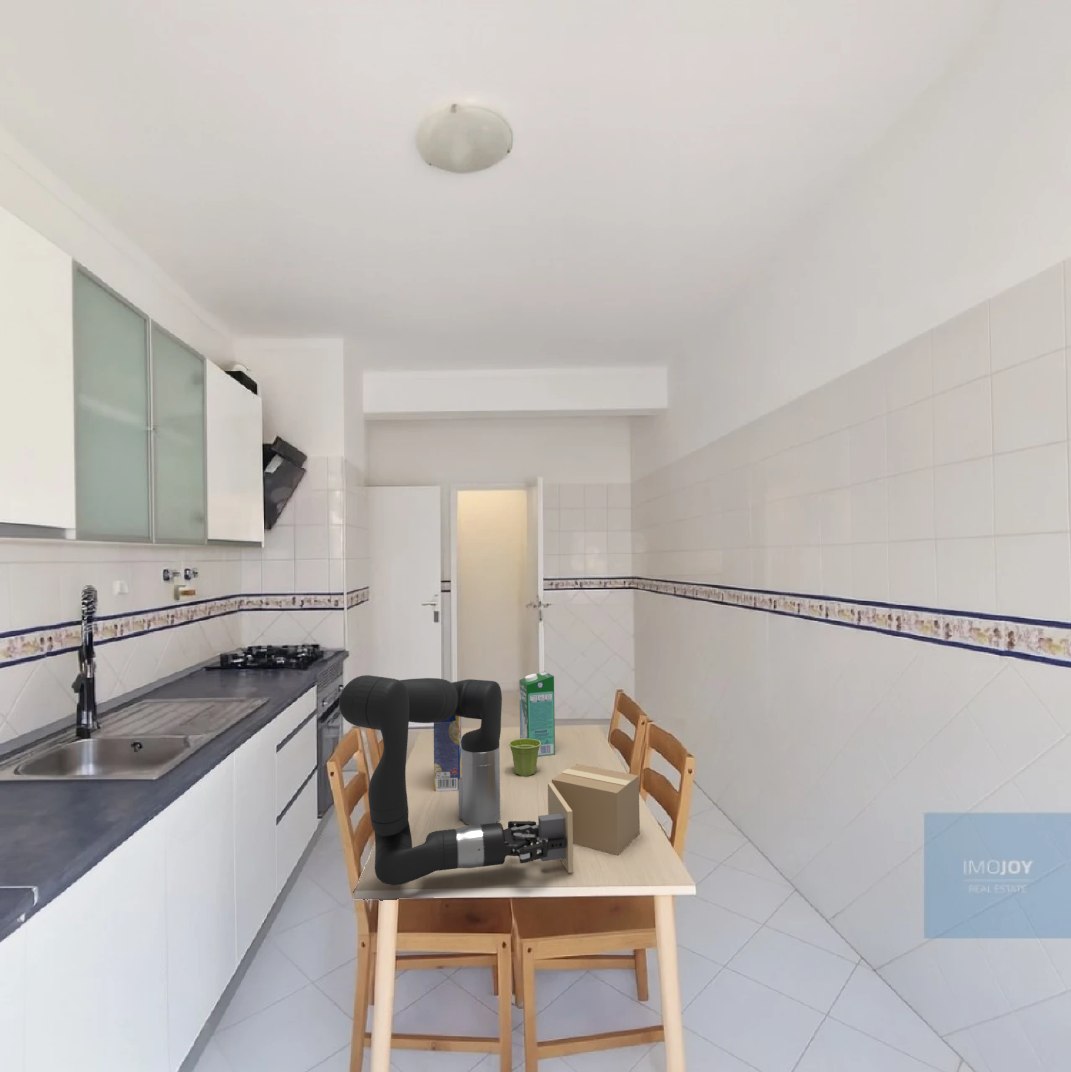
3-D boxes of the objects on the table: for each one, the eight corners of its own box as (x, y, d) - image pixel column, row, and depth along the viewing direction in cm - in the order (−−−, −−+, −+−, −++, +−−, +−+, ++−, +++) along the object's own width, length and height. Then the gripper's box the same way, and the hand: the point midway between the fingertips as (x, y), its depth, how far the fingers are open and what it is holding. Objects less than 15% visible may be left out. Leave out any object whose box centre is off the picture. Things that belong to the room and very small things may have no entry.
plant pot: (508, 767, 186) (508, 738, 186) (540, 766, 187) (539, 737, 187) (509, 779, 177) (509, 748, 177) (542, 777, 178) (542, 747, 178)
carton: (552, 837, 140) (551, 778, 140) (577, 818, 150) (576, 763, 151) (617, 855, 131) (617, 792, 132) (639, 833, 142) (638, 774, 142)
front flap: (526, 839, 138) (526, 785, 138) (552, 836, 139) (552, 782, 140) (543, 876, 122) (543, 814, 123) (573, 872, 124) (572, 811, 124)
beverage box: (461, 776, 180) (460, 699, 180) (459, 790, 169) (458, 708, 169) (437, 777, 179) (437, 700, 180) (434, 791, 168) (433, 709, 169)
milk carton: (520, 749, 204) (519, 672, 205) (546, 746, 207) (545, 670, 207) (528, 757, 195) (527, 677, 196) (555, 754, 198) (554, 675, 199)
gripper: (484, 842, 116) (572, 832, 120) (474, 811, 130) (553, 803, 134) (484, 883, 116) (573, 871, 120) (474, 848, 130) (554, 838, 133)
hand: (562, 835), depth 127 cm, fingers open, 4 cm apart
